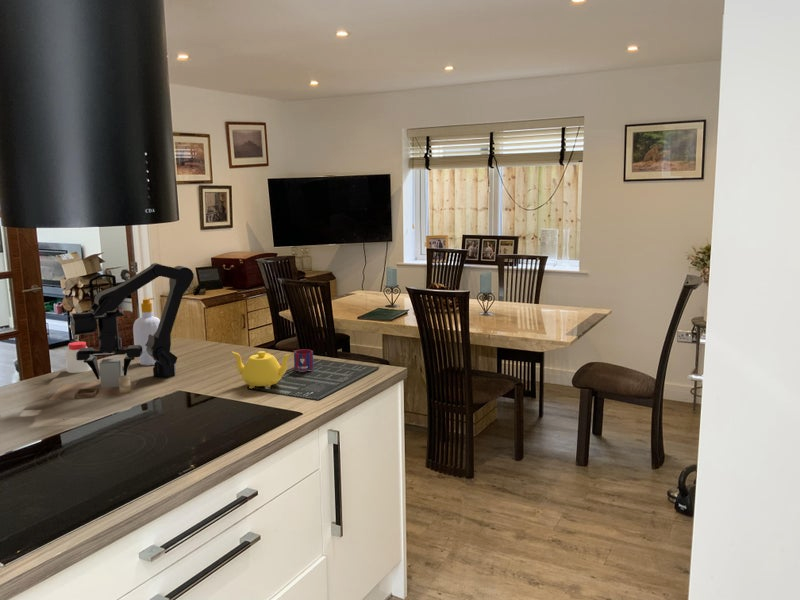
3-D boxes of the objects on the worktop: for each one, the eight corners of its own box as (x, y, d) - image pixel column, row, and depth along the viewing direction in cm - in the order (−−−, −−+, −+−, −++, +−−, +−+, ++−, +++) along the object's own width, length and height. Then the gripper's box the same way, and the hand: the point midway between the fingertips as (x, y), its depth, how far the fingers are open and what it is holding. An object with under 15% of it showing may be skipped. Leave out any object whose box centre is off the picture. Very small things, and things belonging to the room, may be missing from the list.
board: (139, 383, 212) (138, 375, 211) (131, 399, 196) (130, 390, 196) (63, 388, 206) (62, 380, 206) (48, 404, 191) (48, 396, 190)
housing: (123, 381, 209) (121, 358, 208) (120, 386, 204) (118, 362, 203) (104, 382, 208) (103, 359, 207) (101, 387, 203) (99, 363, 201)
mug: (293, 372, 225) (292, 353, 224) (297, 365, 235) (296, 347, 234) (312, 372, 225) (311, 354, 224) (315, 365, 235) (315, 347, 234)
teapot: (298, 378, 218) (297, 346, 216) (287, 392, 203) (286, 357, 202) (241, 377, 220) (239, 344, 218) (226, 390, 205) (224, 356, 203)
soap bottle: (171, 362, 238) (167, 298, 234) (147, 368, 230) (142, 302, 226) (153, 358, 244) (149, 295, 240) (129, 364, 235) (124, 299, 231)
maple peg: (131, 390, 200) (130, 375, 199) (130, 393, 197) (129, 377, 196) (120, 391, 199) (119, 375, 198) (119, 394, 196) (117, 378, 195)
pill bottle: (74, 378, 218) (71, 347, 216) (63, 374, 222) (60, 343, 220) (96, 373, 224) (93, 342, 222) (85, 369, 228) (82, 339, 226)
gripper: (143, 324, 213) (146, 369, 216) (82, 327, 209) (86, 373, 211) (138, 331, 202) (141, 379, 205) (73, 334, 198) (78, 383, 201)
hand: (112, 378), depth 206 cm, fingers open, 8 cm apart
